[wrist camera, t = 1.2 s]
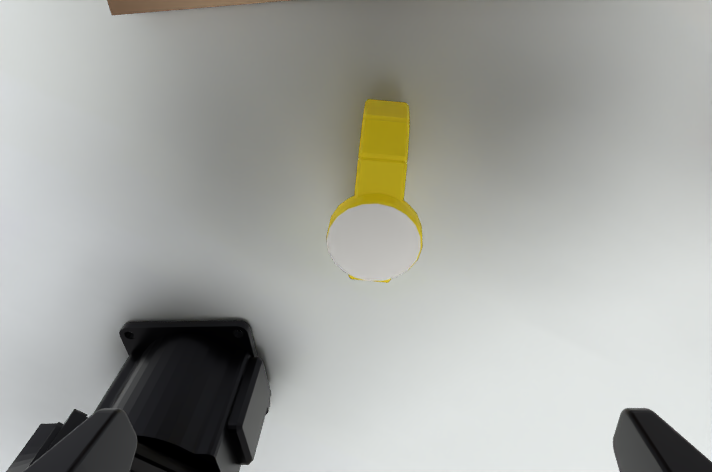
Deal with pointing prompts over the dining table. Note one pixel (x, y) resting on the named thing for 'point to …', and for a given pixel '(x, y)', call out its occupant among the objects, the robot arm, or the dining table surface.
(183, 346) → the robot arm
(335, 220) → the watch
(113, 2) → the cradle
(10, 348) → the dining table surface
